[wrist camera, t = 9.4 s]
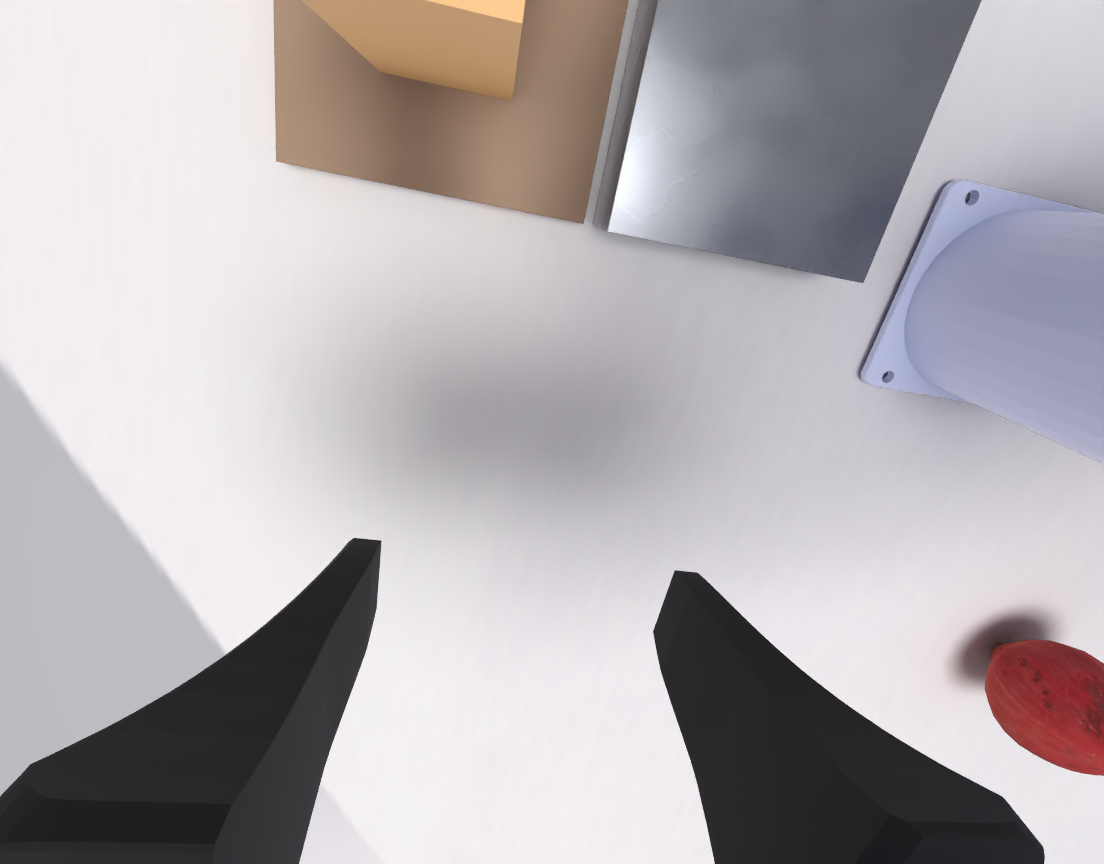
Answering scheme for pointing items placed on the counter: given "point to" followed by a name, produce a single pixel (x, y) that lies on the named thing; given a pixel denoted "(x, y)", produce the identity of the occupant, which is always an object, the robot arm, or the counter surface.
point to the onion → (1050, 701)
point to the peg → (434, 39)
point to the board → (454, 112)
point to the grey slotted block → (776, 124)
